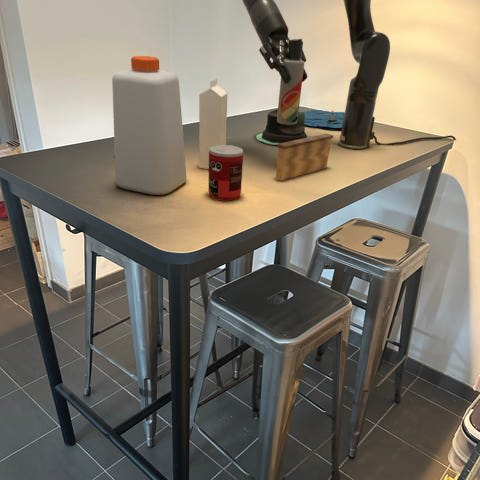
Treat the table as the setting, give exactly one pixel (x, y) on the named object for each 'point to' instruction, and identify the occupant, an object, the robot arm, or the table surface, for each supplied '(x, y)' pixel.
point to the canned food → (225, 172)
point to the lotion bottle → (291, 85)
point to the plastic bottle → (148, 128)
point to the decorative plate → (323, 118)
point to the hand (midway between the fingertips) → (296, 80)
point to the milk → (211, 121)
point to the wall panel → (302, 156)
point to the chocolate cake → (282, 130)
